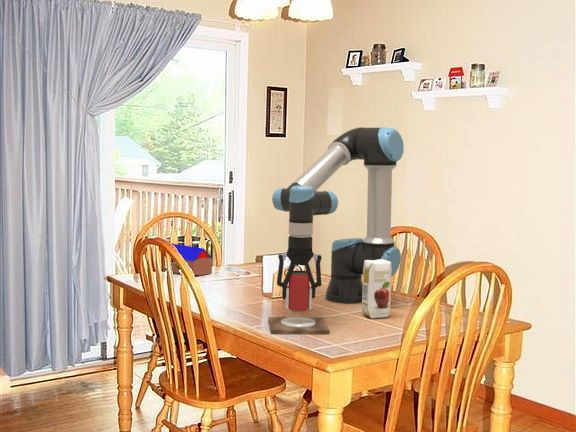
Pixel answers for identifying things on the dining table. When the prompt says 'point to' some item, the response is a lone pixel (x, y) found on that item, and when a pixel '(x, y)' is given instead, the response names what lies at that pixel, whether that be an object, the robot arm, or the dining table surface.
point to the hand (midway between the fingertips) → (298, 307)
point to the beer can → (299, 291)
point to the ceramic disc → (298, 322)
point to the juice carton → (376, 288)
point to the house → (194, 259)
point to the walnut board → (280, 329)
